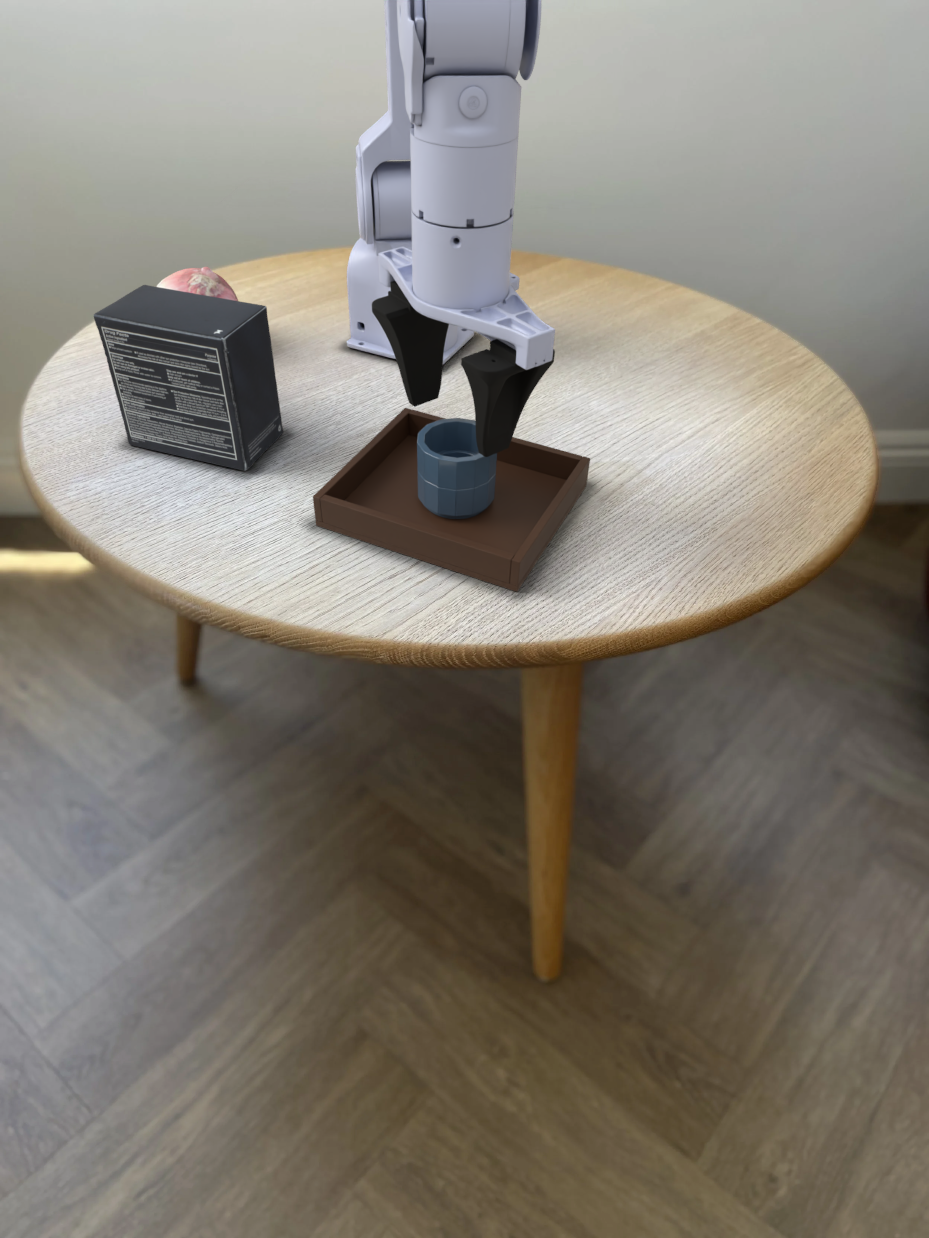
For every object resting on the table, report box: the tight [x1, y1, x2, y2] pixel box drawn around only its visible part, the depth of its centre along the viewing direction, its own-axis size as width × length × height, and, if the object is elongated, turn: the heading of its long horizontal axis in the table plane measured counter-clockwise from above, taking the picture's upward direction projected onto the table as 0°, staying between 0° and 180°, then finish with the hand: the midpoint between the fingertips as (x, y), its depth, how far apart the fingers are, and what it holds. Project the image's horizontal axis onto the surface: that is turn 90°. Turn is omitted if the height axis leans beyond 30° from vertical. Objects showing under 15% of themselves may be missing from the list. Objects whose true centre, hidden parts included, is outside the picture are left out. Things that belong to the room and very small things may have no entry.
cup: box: [417, 417, 497, 519], centre depth 60 cm, size 5×6×5 cm
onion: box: [156, 266, 239, 301], centre depth 76 cm, size 8×8×7 cm
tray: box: [312, 407, 591, 593], centre depth 61 cm, size 15×13×2 cm
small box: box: [93, 284, 284, 472], centre depth 64 cm, size 11×6×10 cm, turn 71°
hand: (457, 424), depth 58 cm, fingers open, 7 cm apart
